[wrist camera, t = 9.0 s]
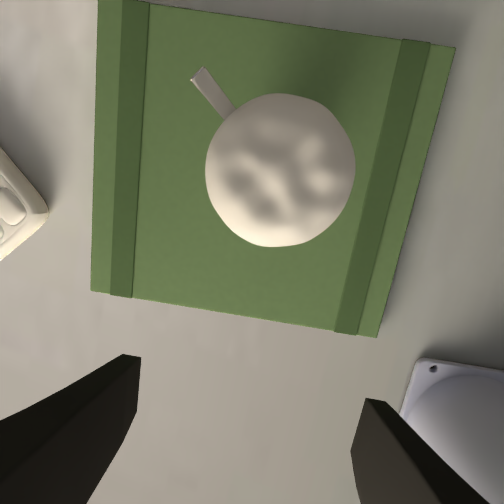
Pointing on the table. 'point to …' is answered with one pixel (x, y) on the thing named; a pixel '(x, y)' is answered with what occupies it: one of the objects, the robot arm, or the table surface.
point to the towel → (196, 147)
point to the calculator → (17, 207)
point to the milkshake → (276, 166)
